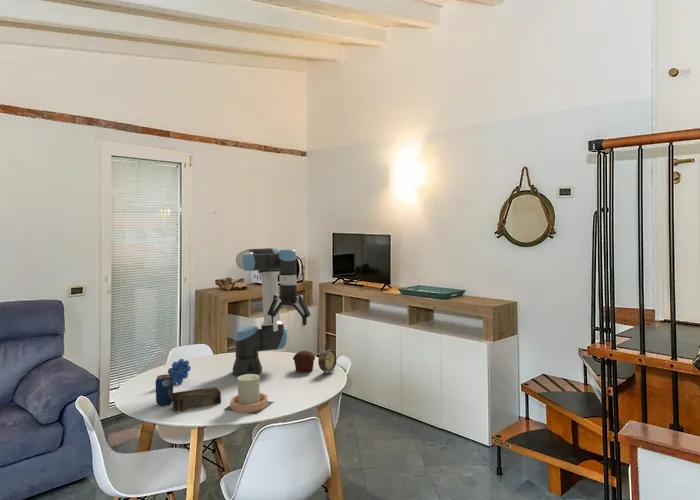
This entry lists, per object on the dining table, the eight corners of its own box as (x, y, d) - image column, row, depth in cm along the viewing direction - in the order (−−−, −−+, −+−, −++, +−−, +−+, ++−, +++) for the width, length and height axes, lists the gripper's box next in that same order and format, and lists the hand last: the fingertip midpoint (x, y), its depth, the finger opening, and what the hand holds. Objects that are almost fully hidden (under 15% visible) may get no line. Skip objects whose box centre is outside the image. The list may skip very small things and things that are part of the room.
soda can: (173, 405, 200) (172, 377, 200) (156, 407, 198) (154, 379, 197) (173, 399, 207) (172, 373, 206) (156, 402, 204) (155, 375, 204)
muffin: (316, 367, 252) (315, 348, 252) (315, 373, 241) (314, 354, 241) (293, 367, 252) (293, 349, 251) (292, 374, 241) (291, 354, 240)
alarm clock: (325, 376, 236) (324, 344, 235) (316, 374, 239) (316, 343, 238) (337, 370, 245) (336, 340, 245) (328, 369, 248) (328, 338, 247)
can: (255, 409, 192) (254, 380, 191) (234, 407, 193) (233, 379, 193) (263, 400, 201) (263, 373, 200) (243, 399, 202) (242, 372, 202)
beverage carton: (221, 405, 200) (221, 390, 200) (173, 413, 192) (173, 397, 192) (218, 399, 207) (218, 384, 207) (172, 407, 199) (171, 391, 199)
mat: (223, 411, 193) (223, 409, 193) (242, 399, 206) (242, 397, 206) (257, 415, 188) (257, 414, 188) (274, 403, 201) (274, 402, 201)
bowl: (223, 410, 192) (223, 403, 192) (243, 397, 207) (243, 390, 206) (255, 414, 187) (255, 407, 187) (273, 401, 201) (273, 394, 201)
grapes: (187, 378, 236) (186, 355, 235) (193, 381, 231) (192, 357, 230) (164, 384, 228) (163, 360, 227) (169, 387, 223) (169, 362, 222)
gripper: (259, 284, 209) (260, 331, 210) (310, 286, 200) (311, 335, 201) (267, 282, 216) (268, 328, 217) (317, 284, 207) (318, 331, 208)
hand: (289, 331), depth 209 cm, fingers open, 13 cm apart
